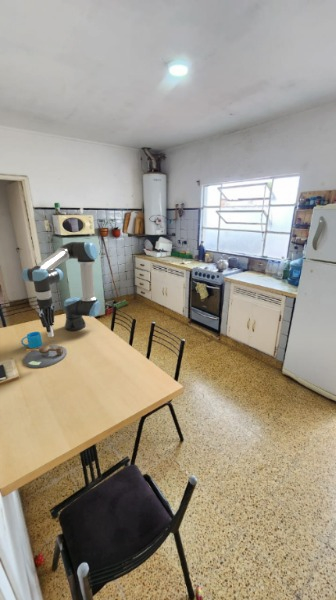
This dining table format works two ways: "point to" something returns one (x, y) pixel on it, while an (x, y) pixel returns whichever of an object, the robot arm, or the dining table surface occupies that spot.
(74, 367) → the dining table surface
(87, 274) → the robot arm
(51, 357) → the dial plate
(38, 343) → the mug
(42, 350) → the dial arm
